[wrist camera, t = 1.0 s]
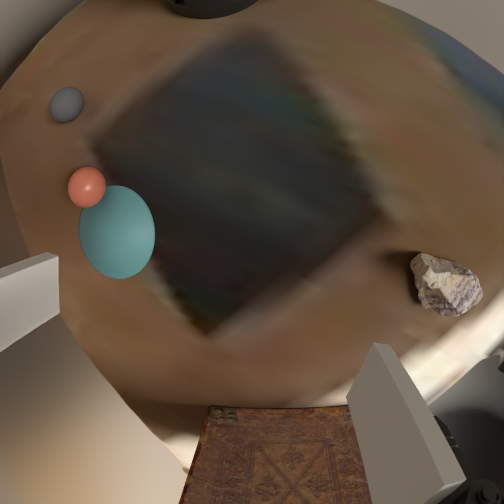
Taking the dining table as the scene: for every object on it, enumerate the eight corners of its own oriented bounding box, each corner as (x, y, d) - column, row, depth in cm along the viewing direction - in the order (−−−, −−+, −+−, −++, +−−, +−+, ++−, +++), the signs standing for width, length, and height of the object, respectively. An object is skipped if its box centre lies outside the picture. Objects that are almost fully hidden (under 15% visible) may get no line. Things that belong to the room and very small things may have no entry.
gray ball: (66, 97, 32) (45, 89, 27) (92, 87, 32) (71, 77, 26) (63, 128, 33) (40, 123, 28) (88, 120, 33) (66, 112, 27)
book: (215, 440, 42) (176, 583, 12) (209, 404, 40) (153, 570, 11) (358, 437, 39) (390, 578, 10) (368, 401, 38) (420, 561, 8)
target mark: (69, 209, 36) (68, 209, 35) (134, 168, 34) (134, 168, 34) (100, 289, 38) (99, 290, 37) (170, 260, 36) (169, 260, 35)
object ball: (83, 170, 34) (59, 169, 29) (113, 165, 34) (90, 161, 28) (84, 208, 35) (60, 210, 30) (114, 204, 35) (91, 207, 30)
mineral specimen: (391, 299, 34) (409, 317, 28) (406, 247, 33) (428, 258, 27) (456, 311, 34) (477, 327, 28) (470, 266, 32) (495, 277, 26)
